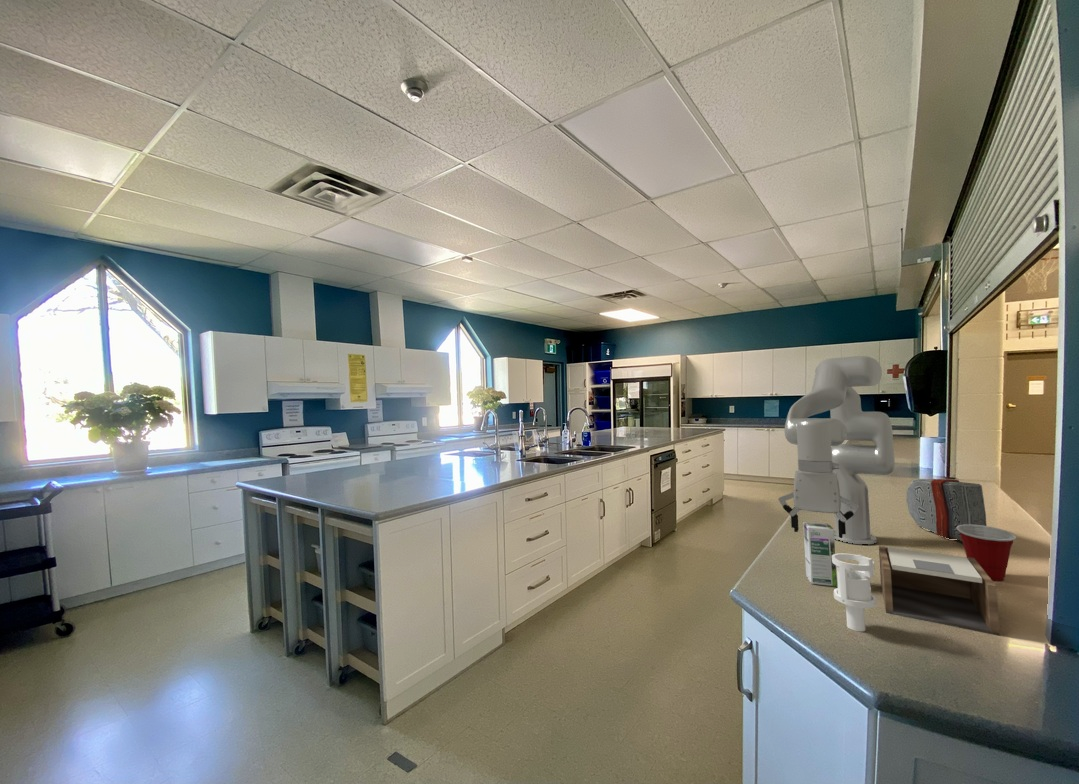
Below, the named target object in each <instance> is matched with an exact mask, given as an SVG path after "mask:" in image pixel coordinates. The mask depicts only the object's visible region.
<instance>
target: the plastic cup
mask: <svg viewBox="0 0 1079 784" xmlns="http://www.w3.org/2000/svg"><path fill="white" fill-rule="evenodd" d="M956 529H957V530H958V531H959V533H960V536H961V539H962V541H961V542H962V545H963V549H964V553H965V557H969V558H975V560H976V561H977V562H978V563H979V565H980V566H981V567H982V569H983V570H984V571H985V572H986V574H987V575H988V576H989V577H990V579H991V580H992V581H993V582H1001V581H1002V582H1003V581H1004V580H1005V578H1006V573H1007V568H1008V565H1009V561H1010V560H1009V558H1010V554H1011V548H1012V546H1013V543H1014V541H1016V539H1017V535H1016V534H1014V533H1013V532H1011V531H1008V530H1007V529H1002V528H998V527H994V526H993V527H992V526H989V525H987V526H982V525H959V526H957V527H956Z"/></svg>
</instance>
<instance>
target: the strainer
mask: <svg viewBox="0 0 1079 784" xmlns="http://www.w3.org/2000/svg"><path fill="white" fill-rule="evenodd" d="M873 559H874V558H872V557H871V558H870V557H867V556H864V555H863V554H854V553H845V552H844V553H843V552H841V553H835V554H833V555H832V563H833V564H835V565H836V576H837V588H834V589H833V598H834V600H836V601H838V602H839V603H841V604H844V605H845V613H846V615H845V616H846V627H847V628H848V629H850V630H852V631H854V632H861V633H862V632H865V631H866V617H865V616H866V614H865V609H872V608H873V609H874V608H875V607H877V598H876V596H874V595H873V594H872V588H871V587H872V586H871V579H870V578H873V577H874V570H875V561H874V560H873ZM842 560H848V561H857V562H858V564H857V563H850V562H845V561H842Z"/></svg>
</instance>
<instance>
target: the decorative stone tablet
mask: <svg viewBox="0 0 1079 784" xmlns="http://www.w3.org/2000/svg"><path fill="white" fill-rule="evenodd" d="M906 505H907V506H906V507H907V510H908V514H909V515H910V517H911V518H912V520H913V522H914V523H915V524H916V526H918V525H919V527H920V526H921V527H923V528H925V529H928V530H930V531H933V532H935V533H934V534H936V533H937V535H938V536H939V535H940V536H943V537H946V538H949V539H957V540H960V541H959V542H962V539H961V536H960V533H959V531H958V530H957V529H956V527H957V526H959V525H982V526H988V525H987V514H986V513H987V512H986V507H985V498H984V491H983V485H982V484H980V483H975V482H974V483H973V482H964V481H959V480H958V479H951V478H918V479H917V478H915V479H912V481H911V482H909V485H908V487H907V489H906ZM921 527H920V528H921ZM923 528H922V529H923ZM940 536H939V537H940Z"/></svg>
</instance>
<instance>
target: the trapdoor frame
mask: <svg viewBox="0 0 1079 784" xmlns="http://www.w3.org/2000/svg"><path fill="white" fill-rule="evenodd" d="M887 547H888V546H885V545H878V555H879V556H878V558H879V571H880V572H879V574H880V585H881V591H882V597H883V602H884V608H885V613H886V614H892V615H896V616H902V617H905V618H911V619H916V620H920V621H925V622H926V621H927V622H931V623H935V624H942V625H946V626H951V627H956V628H959V629H960V628H961V629H966V630H970V631H975V632H976V631H977V632H980V633H986V634H991V635H995V636H1000V622H999V607H998V606H999V605H998V603H999V602H998V594H997V593H998V591H997V585H996V584H995V581H992V580H991V579H990V577H989V576H988V575H987V574H986V572H985V571H984V570H983V569H982V567H981V566H980V565H979V563H978V562H977V561H976V560H975V558H969V557H967V556H966V557H967V559H968V560H969V561H970V563H971V564H972V565H973V567H974V568H975V569H976V571H977V572H978V574H979V575H980V576H981V578H982V583H978V582H971V581H965V580H958V579H952V578H945V577H939V576H932V575H926V574H919V573H913V572H906V571H900V570H894V569H892V566H891V562H890V558H889V554H888V549H887Z"/></svg>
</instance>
